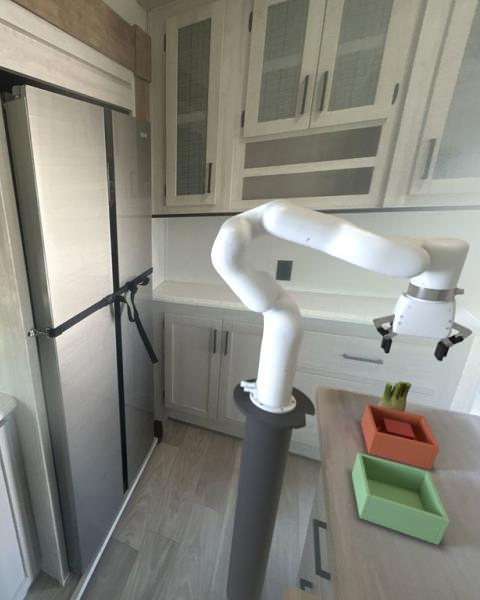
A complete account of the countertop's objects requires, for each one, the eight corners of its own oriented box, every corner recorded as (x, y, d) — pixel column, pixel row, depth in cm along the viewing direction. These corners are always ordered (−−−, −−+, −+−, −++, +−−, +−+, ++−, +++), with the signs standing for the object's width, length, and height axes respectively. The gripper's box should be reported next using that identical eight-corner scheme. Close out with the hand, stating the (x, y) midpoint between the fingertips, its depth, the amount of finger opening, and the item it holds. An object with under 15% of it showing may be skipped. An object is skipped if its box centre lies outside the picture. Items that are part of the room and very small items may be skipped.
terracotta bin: (368, 453, 82) (374, 432, 79) (360, 423, 91) (366, 403, 88) (430, 470, 76) (439, 448, 74) (416, 436, 85) (424, 415, 83)
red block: (382, 446, 83) (387, 430, 81) (378, 432, 86) (383, 417, 85) (409, 453, 80) (415, 437, 78) (404, 438, 84) (409, 423, 82)
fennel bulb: (375, 420, 91) (386, 384, 87) (373, 409, 95) (383, 374, 91) (404, 427, 88) (417, 390, 84) (400, 415, 92) (412, 380, 87)
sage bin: (359, 517, 68) (367, 495, 66) (351, 473, 77) (357, 452, 75) (438, 545, 62) (450, 521, 60) (419, 494, 72) (429, 471, 69)
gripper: (477, 289, 75) (454, 353, 82) (378, 283, 84) (364, 341, 91) (492, 301, 69) (466, 369, 76) (384, 293, 78) (368, 355, 85)
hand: (410, 354), depth 83 cm, fingers open, 9 cm apart
